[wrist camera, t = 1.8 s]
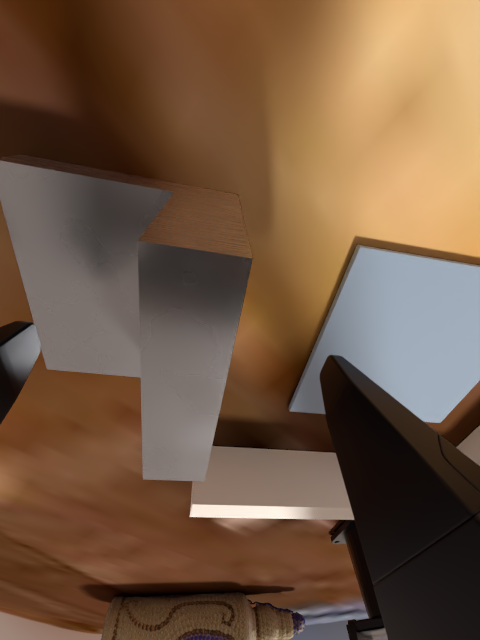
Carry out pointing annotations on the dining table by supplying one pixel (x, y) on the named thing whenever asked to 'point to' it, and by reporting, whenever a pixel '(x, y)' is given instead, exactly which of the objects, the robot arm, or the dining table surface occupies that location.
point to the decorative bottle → (198, 618)
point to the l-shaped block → (280, 483)
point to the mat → (402, 331)
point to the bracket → (134, 291)
